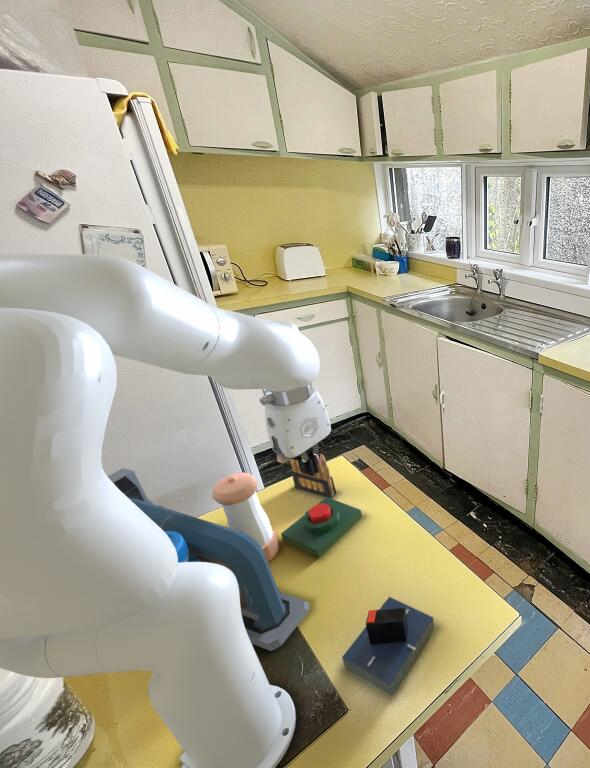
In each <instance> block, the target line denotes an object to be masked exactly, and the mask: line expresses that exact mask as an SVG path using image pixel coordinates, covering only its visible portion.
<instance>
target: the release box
mask: <svg viewBox="0 0 590 768" xmlns="http://www.w3.org/2000/svg"><path fill="white" fill-rule="evenodd" d="M318 504H328V505H329V506H330V510H331V516H330V518H329V519H328V520H326V521H324V522H322V523H313V522H312V521H311V519H310V516H309V511H310V509H311V508H309V509H308V510H307V511H306V512H304V514H303V515H302V516H301V517H300V518H298V519H297V520H296V521H294V522H293V523H292V524H290V526H289V527H287V528H286V529H285V530H283V531H282V532H281V533H280V535H281V539H282V541H283V543H286V544H288V545H290V546H293V547H295V548H297V549H299V550H301V551H303V552H306V553H308V554H310V555H312V556H314V557H316V558H318V559H320V558H321V557H322V556H323V555H325V554H326V553H327V552H328V551H329V550H330V549H331V548H332V547H333V546H334V545H336V543H337V542H339V540H340V539H342V537H344V535H346V533H347V532H349V531H350V530H351V529H352V528H353V527H354V526H355V525H356V524H357V523H358V522H359V521H360V520H361V519H362V518H363V515H362V510H361V509H359V508H357V507H354V506H352V505H349V504H346V503H343V502H341V501H338V500H336V499H334V498H328V497H324V498H323V499H322V500H320V501H319V502H318V503H317V504H316V505H318Z"/></svg>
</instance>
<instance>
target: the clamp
mask: <svg viewBox="0 0 590 768" xmlns="http://www.w3.org/2000/svg"><path fill="white" fill-rule="evenodd" d="M107 477H108V478H109V479H110V480H111V481H112V482H113V483H114V485H115V486H116V487H117V488H118V489H119V490H120V491H121V492H122V493H123V494H124V495H125V496H127V497H128V498H129V499H130V500H131V501H132V502H133V503H134V504H135V505H136V506H137V507H138V508H139V509H141V510H142V511H143V512H144V513H145V514H146V515H147V516H148V517H149V518H150V519H151V520H152V521H154V522H155V523H156V524H157V525H158V526H159V527H160V528H161V529H162V530H163V531H164V532H165V531H174V532H177V533H179V534H180V535H181V536H182V537H183V538H184V540H185V543H186V545H187V547H188V550H189V554H190V555H193V556H195V557H196V558H198V559H199V560H200V561H201V562H208V563H215V564H219V565H222V566H224V567H226V568H228V569H229V570H231V571H232V572H233V574H234V575H235V577H236V579H237V582H238V587H239V595H240V607H241V614H242V619H243V623H244V626H245V629H246V632H247V634H248V637H249V639H250V641H251V644H252V645H254V646H256V647H260V648H261V649H265V650H267V651H269V652H272V651H275V650H276V649H278V648H280V647H281V646H282V647H283V645H284V643H285V642H286V641H287V639H288V638H289V637H290V636H291V634H292V633H293V632H294V631H295V629H296V628H297V627H298V626H299V624H300V622H302V620H303V619H304V618H305V617H306V616H307V614H308V613H309V612H310V604H311V603H309V602H308V601H306V600H304V599H300V598H298V597H294V596H292V595H288V594H285V593H283V592H281V591H280V590H279V589H278V587H277V584H276V581H275V578H274V576H273V572H272V569H271V567H270V564H269V561H267V559H266V556H265V554H264V552H263V550H262V548H261V546H260V545H259V544H258V543H257V542H256V541H255V540H254V539H253V538H251V537H250V536H249V535H247V534H245V533H243V532H240V531H237V530H234V529H231V528H228V526H224V525H222V524H218V523H214V522H211V521H208V520H205V519H201V518H198V517H195V516H193V515H189V514H186V513H183V512H179V511H176V510H173V509H170V508H166V507H163V506H162V505H160V504H158V505H157V504H156V503H155V502H154V501H153V500H151V499H150V498H149V497H148V495H147V493H146V491H145V490H144V487H143V486H142V483H141V482H140V480H139V478H138V475H137V473H136V471H135V470H132V469H128V468H125V467H122V468H120V469H119V470H117V471H115V472H113V473H111V474H110V475H107Z"/></svg>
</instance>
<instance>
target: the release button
mask: <svg viewBox="0 0 590 768" xmlns="http://www.w3.org/2000/svg"><path fill="white" fill-rule="evenodd" d="M317 504H318V503H317ZM317 504H315V505H314V506H312V507H310V508H309V509H310V511H309V516H310V519H311V521H312V522H313V523H322V522H324V521H326V520H328V519H329V518H330V516H331V510H330V506H329V505H328V504H318V505H317Z"/></svg>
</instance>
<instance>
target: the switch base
mask: <svg viewBox="0 0 590 768" xmlns="http://www.w3.org/2000/svg"><path fill="white" fill-rule="evenodd" d="M397 608H405V610H406V616H407V623H408V634H407V641H406V642H395V643H383V644H372V645H370V641H369V636H368V632H367V627H366V622H365V623H364V625H365V627H364V628H363V630H362V631H361V632H360V633H359V635H358V636H357V637H356V639H355V640H354V641H353V643H352V644H351V645H350V646H349V648H347V650H346V651H345V653H344V654H343V655H342V657H341V659H342V663H343V666H344V669H345V670H347V671H348V672H351V673H352V674H354V675H355V676H357V677H359V678H361V679H362V680H364V681H366V682H368V683H369V684H371V685H373V686H374V687H376V688H378V689H380V690H381V691H383V692H385V693H386V694H388V695H391V696H394V694H395V693H396V691H397V690H398V687H399V686H400V684H401V683H402V681H403V680H404V678H405V676H406V675H407V673H408V672H409V670H410V669H411V667H412V665H413V664H414V662H415V661H416V659H417V657H418V656H419V654H420V652H421V651H422V649H423V648H424V646H425V645H426V643H427V642H428V640H429V638H430V636H431V635H432V633H433V632H434V631H435V622H434V621H435V620H434V616H432V615H429V614H427V613H425V612H423V611H421V610H419V609H416V608H414V607H412V606H410V605H408V604H405V603H403V602H402V601H399V600H398V599H395V598H392V597H391V596H388V597H387V599H386V600H385V602H384V603H383V604H382V606H381V607H380V608H379V609H378V610H385V609H397Z"/></svg>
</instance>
